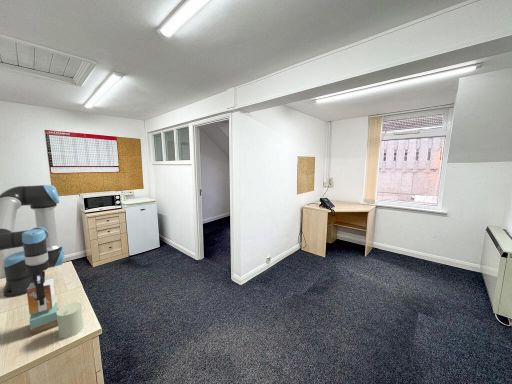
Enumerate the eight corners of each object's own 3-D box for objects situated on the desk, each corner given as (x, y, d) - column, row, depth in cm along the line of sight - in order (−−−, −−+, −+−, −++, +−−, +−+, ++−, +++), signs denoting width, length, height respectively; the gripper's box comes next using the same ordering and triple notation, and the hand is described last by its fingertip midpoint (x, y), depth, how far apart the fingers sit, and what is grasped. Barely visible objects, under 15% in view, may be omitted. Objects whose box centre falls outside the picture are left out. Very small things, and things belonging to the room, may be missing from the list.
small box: (29, 315, 98) (25, 289, 96) (33, 307, 103) (30, 282, 101) (53, 308, 102) (50, 284, 100) (56, 301, 107) (53, 278, 105)
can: (54, 340, 95) (51, 317, 93) (63, 326, 103) (61, 304, 102) (80, 334, 99) (77, 311, 97) (86, 321, 107) (84, 299, 105)
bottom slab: (31, 325, 104) (30, 317, 103) (59, 315, 111) (58, 308, 110) (31, 337, 97) (30, 329, 96) (60, 325, 104) (59, 318, 103)
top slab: (32, 317, 103) (31, 310, 103) (57, 309, 109) (56, 302, 109) (30, 328, 97) (29, 321, 96) (57, 319, 103) (56, 312, 102)
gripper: (26, 257, 103) (32, 299, 107) (24, 273, 89) (30, 321, 93) (48, 253, 108) (53, 293, 112) (48, 267, 95) (54, 313, 98)
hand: (42, 306), depth 102 cm, fingers closed on small box, 7 cm apart
